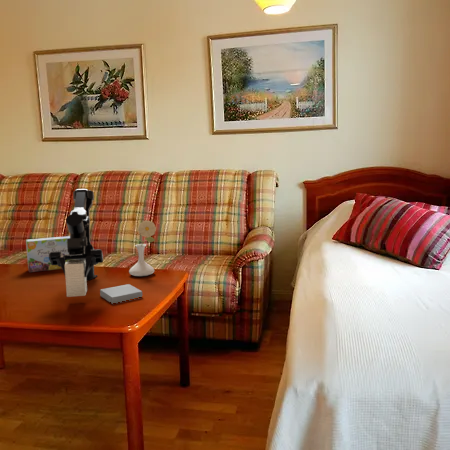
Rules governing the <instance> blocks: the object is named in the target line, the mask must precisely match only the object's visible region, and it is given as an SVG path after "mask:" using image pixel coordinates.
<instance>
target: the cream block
mask: <svg viewBox="0 0 450 450" xmlns="http://www.w3.org/2000/svg"><path fill="white" fill-rule="evenodd" d="M85 267H86V263H85V259H81V260H67V261H66V263H65V275H64V278H65V289H66V297H67V298H71V297H84V296H86V295H87V292H88V285H87V284H88V282H87V281H88V280H87V279H86V277H85Z"/></svg>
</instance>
